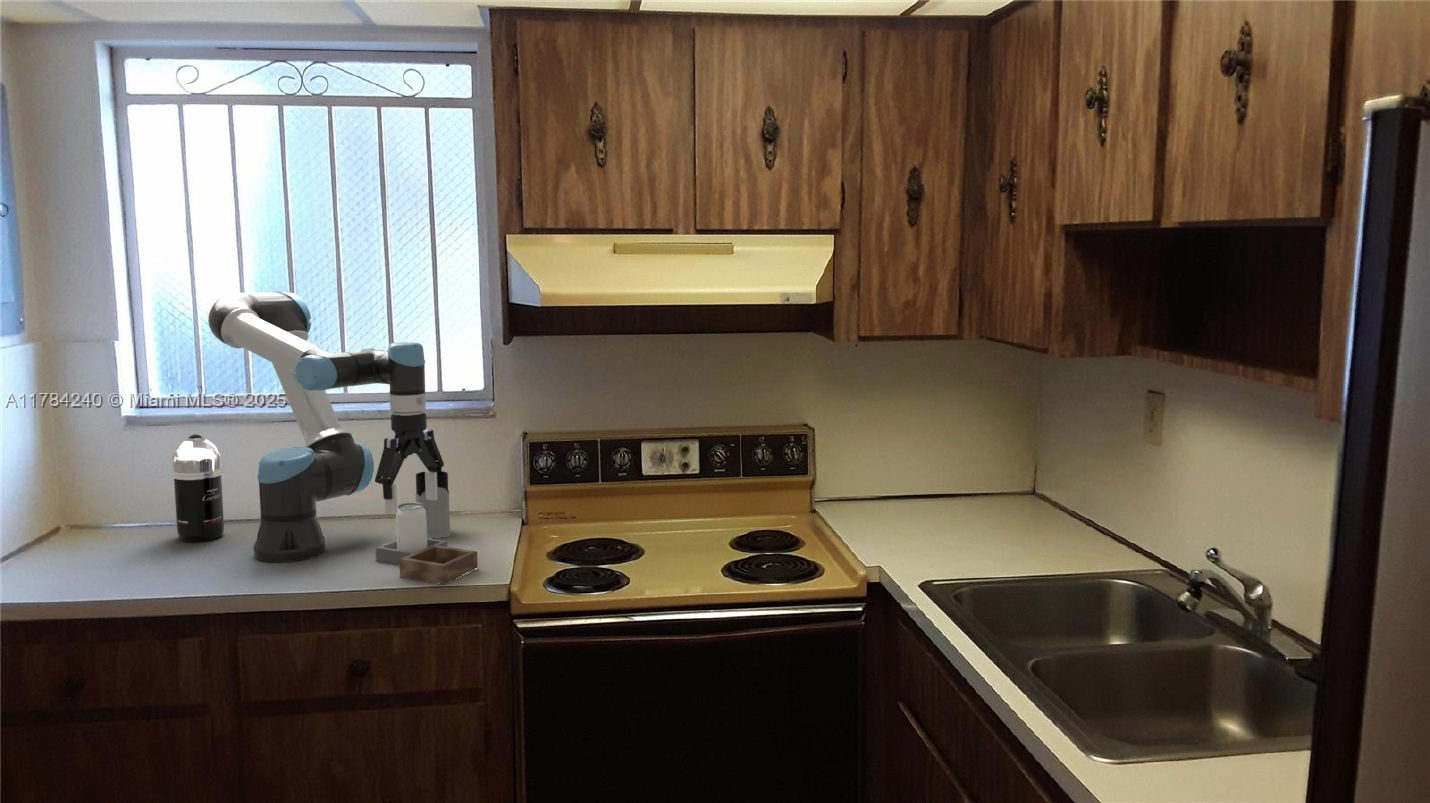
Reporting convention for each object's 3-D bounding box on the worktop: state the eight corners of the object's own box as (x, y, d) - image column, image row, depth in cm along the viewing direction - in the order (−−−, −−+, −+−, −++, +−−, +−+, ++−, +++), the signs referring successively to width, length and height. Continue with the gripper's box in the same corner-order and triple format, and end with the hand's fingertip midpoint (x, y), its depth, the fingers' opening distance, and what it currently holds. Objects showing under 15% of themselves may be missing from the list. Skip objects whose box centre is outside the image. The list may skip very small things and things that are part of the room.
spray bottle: (166, 540, 233) (159, 436, 229) (203, 529, 242) (197, 429, 239) (198, 545, 229) (192, 439, 225) (235, 534, 239) (229, 432, 235)
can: (418, 562, 219) (417, 510, 218) (391, 560, 221) (390, 508, 219) (432, 554, 226) (431, 503, 224) (406, 552, 227) (405, 501, 225)
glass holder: (419, 540, 236) (417, 479, 234) (406, 526, 248) (404, 467, 246) (455, 536, 240) (454, 475, 238) (441, 522, 253) (439, 464, 250)
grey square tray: (376, 560, 220) (375, 547, 220) (409, 547, 230) (408, 535, 230) (416, 567, 216) (415, 554, 216) (447, 553, 226) (447, 541, 226)
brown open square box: (399, 577, 209) (399, 558, 209) (434, 562, 220) (434, 544, 219) (444, 584, 205) (443, 566, 205) (477, 569, 216) (477, 551, 215)
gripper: (383, 421, 205) (387, 521, 208) (457, 406, 228) (460, 495, 231) (354, 419, 208) (359, 517, 211) (431, 404, 231) (434, 492, 234)
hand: (412, 506), depth 221 cm, fingers open, 13 cm apart
